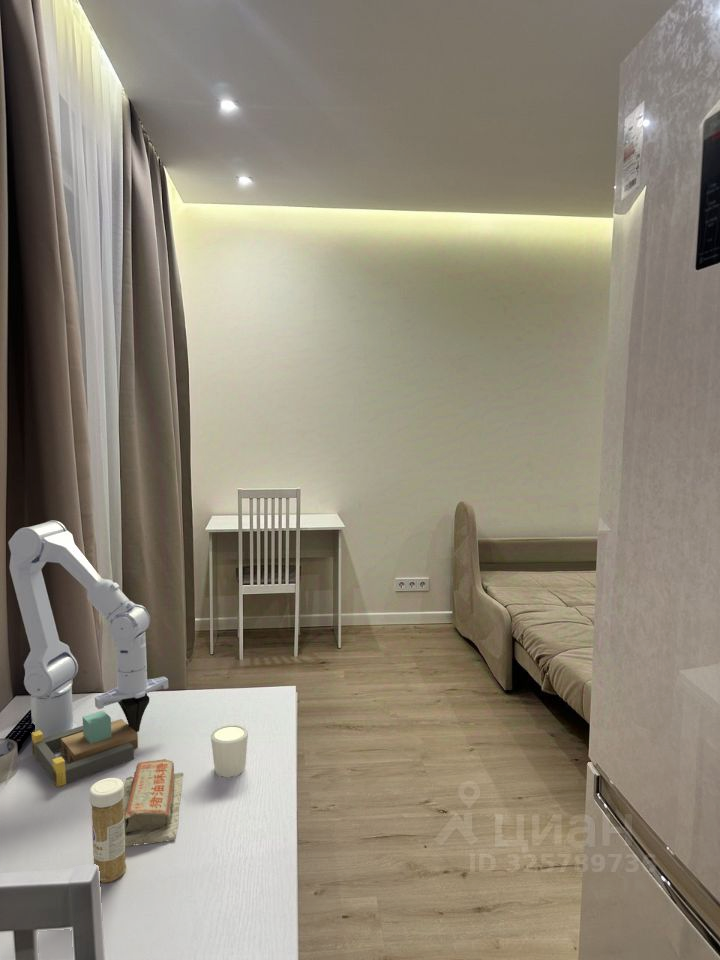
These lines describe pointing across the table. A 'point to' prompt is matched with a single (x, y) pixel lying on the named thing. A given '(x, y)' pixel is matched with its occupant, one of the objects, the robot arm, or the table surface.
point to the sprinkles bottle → (108, 828)
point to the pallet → (81, 748)
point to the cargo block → (96, 727)
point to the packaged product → (152, 803)
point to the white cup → (229, 750)
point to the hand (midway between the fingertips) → (134, 730)
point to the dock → (79, 768)
